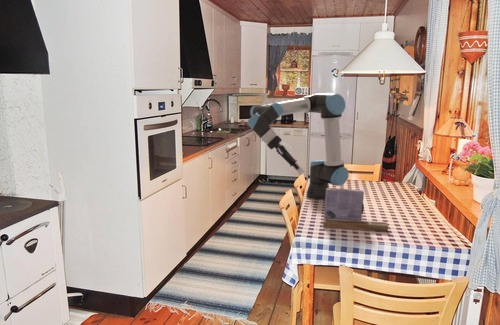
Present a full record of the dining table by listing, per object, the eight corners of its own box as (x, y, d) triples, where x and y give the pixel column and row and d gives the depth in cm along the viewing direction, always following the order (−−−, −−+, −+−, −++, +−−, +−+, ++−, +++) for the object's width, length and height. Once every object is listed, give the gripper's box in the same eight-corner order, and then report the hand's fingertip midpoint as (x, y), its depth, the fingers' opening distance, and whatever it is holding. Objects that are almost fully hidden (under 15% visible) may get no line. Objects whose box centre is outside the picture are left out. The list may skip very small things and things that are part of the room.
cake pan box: (362, 222, 189) (364, 189, 186) (363, 226, 184) (365, 191, 181) (323, 220, 192) (325, 187, 189) (324, 224, 187) (325, 189, 184)
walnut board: (323, 224, 187) (323, 218, 186) (385, 228, 182) (386, 222, 181) (323, 227, 182) (323, 221, 181) (387, 231, 177) (388, 225, 176)
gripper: (267, 142, 199) (297, 175, 199) (264, 145, 186) (296, 180, 187) (278, 133, 197) (308, 166, 197) (275, 135, 185) (307, 170, 185)
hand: (302, 173), depth 192 cm, fingers closed
